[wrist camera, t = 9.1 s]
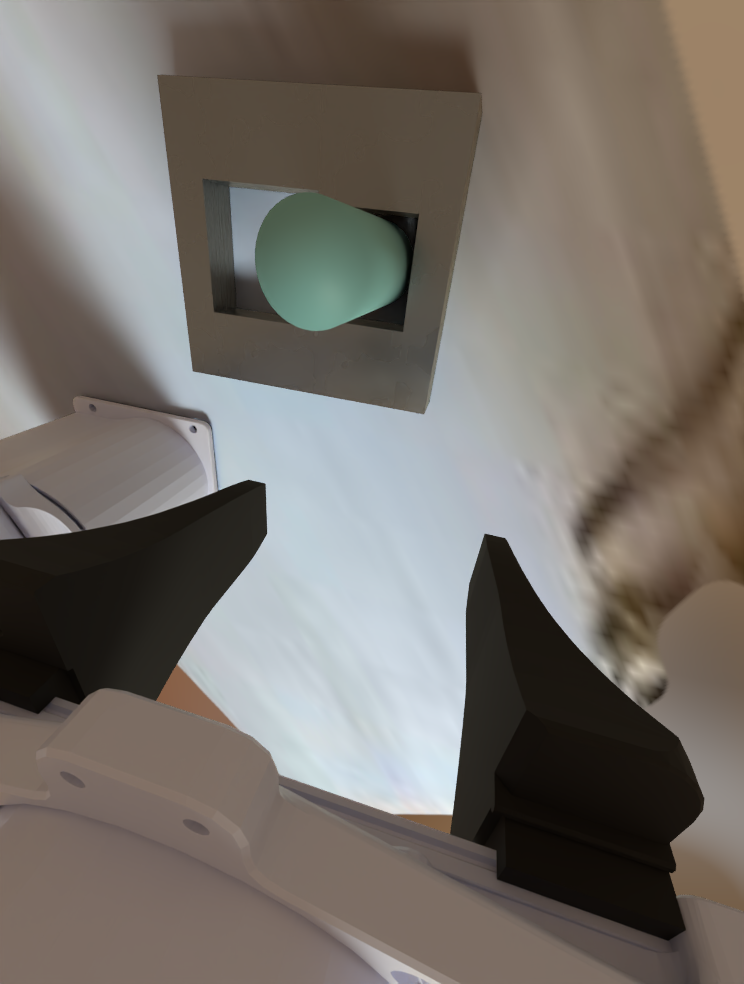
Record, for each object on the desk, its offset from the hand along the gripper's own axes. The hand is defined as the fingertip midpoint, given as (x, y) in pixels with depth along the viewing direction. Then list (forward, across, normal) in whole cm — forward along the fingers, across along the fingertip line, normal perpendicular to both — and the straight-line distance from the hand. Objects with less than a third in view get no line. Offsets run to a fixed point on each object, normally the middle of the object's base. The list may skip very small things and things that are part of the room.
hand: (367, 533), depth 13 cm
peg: (+10, +3, -7) cm, 13 cm away
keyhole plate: (+10, +6, -7) cm, 13 cm away
